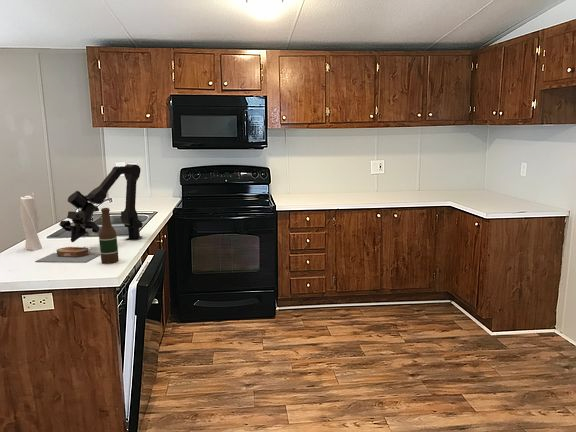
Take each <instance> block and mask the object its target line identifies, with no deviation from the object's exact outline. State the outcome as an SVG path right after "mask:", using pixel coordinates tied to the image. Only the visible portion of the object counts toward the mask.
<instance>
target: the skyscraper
mask: <svg viewBox="0 0 576 432" xmlns="http://www.w3.org/2000/svg"><path fill="white" fill-rule="evenodd" d="M20 218H21V219H20V221H21V223H22V224H21V225H22V227H23V228H22V229H23V230H24V231H23V232H24V234H25V244H24V245H25V246H24V247H25V248H24V250H25V249H28V251H36V250H39V249H43V246H42V244H41V241H40V238H39V234H38V232H39V225H40V224H39V223H40V221H39V211H38V208H37V204H36V201H35V194H34V192H31V195H24V197H23V196H21V197H20Z"/></svg>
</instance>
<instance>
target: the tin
mask: <svg viewBox="0 0 576 432" xmlns="http://www.w3.org/2000/svg"><path fill="white" fill-rule="evenodd" d="M89 250H90V248H89V247H84V246H83V247H82V246H81V247H79V246H67V247H61V248H58V249H56V253H57V255H58V256H61V257H81V256H85V255H87V254H89V253H90V251H89Z"/></svg>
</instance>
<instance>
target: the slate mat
mask: <svg viewBox="0 0 576 432" xmlns="http://www.w3.org/2000/svg"><path fill="white" fill-rule="evenodd" d="M99 256H100V257H101V253H95V252H94V253H90V252H89V254H87V255H85V256H81V257H61V256H58V255H57V252H52V253H50V254H48V255H46V256H44V257H42V258H40V259H37V260H35V263H81V264H82V263H83V264H85V263H88V262H90V261H92V260H94V259H96V258H97V257H99Z"/></svg>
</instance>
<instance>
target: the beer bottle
mask: <svg viewBox="0 0 576 432" xmlns="http://www.w3.org/2000/svg"><path fill="white" fill-rule="evenodd" d="M100 211H101V228H99V232H98V239H99V241H98V242H99V250H100V251H99V252H100V253H101V255H100V261H101V264H102V265H103V264H104V265H106V264H107V265H110V264H116V263H118V262H119V259H120V258H119V247H118V238H117V231H116V229H115V228H114V226H113V225H112V222H111V214H110V211H111V210H110V207H103V208H101V209H100Z"/></svg>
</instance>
